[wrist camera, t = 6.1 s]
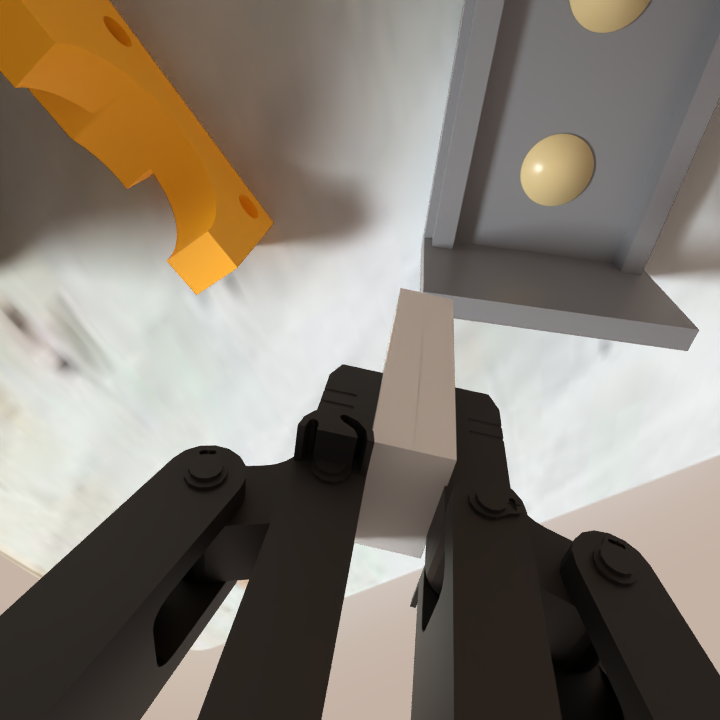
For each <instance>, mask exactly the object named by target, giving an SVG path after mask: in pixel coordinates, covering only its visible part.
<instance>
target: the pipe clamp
mask: <svg viewBox="0 0 720 720" xmlns="http://www.w3.org/2000/svg"><path fill="white" fill-rule="evenodd" d="M0 71H1V72H2V74H3V75H4V76H5V77H6V78H7V79H8V80H9V82H10V83H11V84H12V85H13V86H14V87H15V88H22V87H24V88H28V89H29V91H30V92H31V93H32V94H33V95H34V96H35V98H36V99H37V100H38V101H39V102H40V103H41V104H42V106H43V107H44V108H45V109H46V110H47V111H48V113H49V114H50V115H51V116H52V117H53V118H54V119H55V121H56V122H57V123H58V124H59V125H60V126H61V128H62V129H63V130H64V131H65V132H66V133H67V134H68V136H69V137H70V138H71V139H73V140H74V141H76V142H77V143H79V144H80V145H81V146H83V147H84V148H86V149H87V150H88V151H89V152H91V153H92V154H93V155H94V156H96V157H97V158H98V159H99V160H100V161H101V162H102V163H103V164H105V165H106V166H107V167H108V168H109V169H110V170H111V171H112V172H113V174H114V175H115V176H116V177H117V178H118V179H119V180H120V181H121V183H122V184H123V185H124V186H125V187H126V189H128V188H130V187H132V186H134V185H135V184H137V183H139V182H141V181H143V180H145V179H147V178H149V177H150V176H151V175H152V174H154V175H155V177H156V178H157V180H158V181H159V183H160V185H161V186H162V188H163V190H164V192H165V194H166V196H167V198H168V200H169V202H170V205H171V207H172V210H173V213H174V217H175V221H176V226H177V242H176V247H175V249H174V252H173V254H172V255H171V257H170V258H169V259H168V260H167V262H168V263H169V264H170V265H171V267H172V268H173V269H174V270H175V271H176V272H177V273H178V275H179V276H180V277H181V278H182V279H183V280H184V281H185V283H186V284H187V285H188V286H189V287H190V288H191V289H192V291H193V292H194V293H195V294H196V295H197V294H199V293H200V292H202V291H203V290H205V289H206V288H208V287H209V286H211V285H212V284H214V283H215V282H217V281H218V280H220V279H221V278H223V277H224V276H226V275H227V274H229V273H230V272H232V271H233V270H235V269H236V268H238V266H239V265H240V264H241V263H242V262H243V260H244V259H245V258H246V257H247V255H248V254H249V253H250V252H251V251H252V249H253V248H254V247H255V246H256V244H257V243H258V242H259V241H260V240H261V238H262V237H263V236H264V235H265V233H266V232H267V231H268V230H269V228H270V227H271V226H272V225H273V224H274V222H273V221H272V220H271V218H270V217H269V216H268V214H267V213H266V212H265V210H264V209H263V207H262V206H261V205H260V203H259V202H258V201H257V199H256V198H255V197H254V195H253V194H252V193H251V191H250V190H249V189H248V187H247V186H246V185H245V183H244V182H243V180H242V179H241V178H240V176H239V175H238V174H237V172H236V171H235V170H234V168H233V167H232V166H231V164H230V163H229V162H228V160H227V159H226V158H225V156H224V155H223V153H222V152H221V151H220V149H219V148H218V147H217V145H216V144H215V143H214V141H213V140H212V139H211V137H210V136H209V135H208V133H207V132H206V130H205V129H204V128H203V126H202V125H201V124H200V122H199V121H198V120H197V118H196V117H195V116H194V114H193V113H192V112H191V110H190V109H189V108H188V106H187V105H186V103H185V102H184V101H183V99H182V98H181V97H180V95H179V94H178V93H177V91H176V90H175V89H174V87H173V86H172V85H171V83H170V82H169V81H168V79H167V78H166V76H165V75H164V74H163V72H162V71H161V70H160V68H159V67H158V66H157V64H156V63H155V62H154V60H153V59H152V58H151V56H150V55H149V53H148V52H147V51H146V49H145V48H144V47H143V45H142V44H141V43H140V41H139V40H138V39H137V37H136V36H135V35H134V33H133V32H132V31H131V29H130V28H129V26H128V25H127V24H126V22H125V21H124V20H123V18H122V17H121V16H120V14H119V13H118V12H117V10H116V9H115V8H114V6H113V5H112V4H111V2H110V1H109V0H0Z"/></svg>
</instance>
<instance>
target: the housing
mask: <svg viewBox="0 0 720 720" xmlns="http://www.w3.org/2000/svg"><path fill="white" fill-rule="evenodd" d="M719 98H720V0H464V5H463V11H462V17H461V23H460V29H459V34H458V40H457V46H456V52H455V57H454V63H453V69H452V75H451V80H450V86H449V92H448V98H447V103H446V109H445V115H444V121H443V127H442V132H441V138H440V144H439V150H438V155H437V161H436V167H435V173H434V178H433V184H432V190H431V196H430V201H429V207H428V213H427V219H426V224H425V230H424V236H423V242H422V248H421V273H420V292H421V293H426V294H431V295H435V296H440V297H445V298H449V299H453V318H456V319H463V320H470V321H477V322H484V323H491V324H498V325H505V326H513V327H520V328H527V329H534V330H541V331H548V332H555V333H562V334H570V335H577V336H584V337H591V338H598V339H605V340H612V341H619V342H627V343H634V344H641V345H648V346H655V347H662V348H669V349H676V350H684V351H688V349H689V348H690V346H691V344H692V342H693V340H694V338H695V337H696V335H697V333H698V331H699V329H698V328H697V327H696V326H695V325H694V324H693V323H692V322H691V321H690V319H689V318H688V317H687V316H686V315H685V314H684V313H683V312H682V311H681V310H680V309H679V308H678V307H677V305H676V304H675V303H674V302H673V301H672V300H671V299H670V298H669V297H668V296H667V295H666V294H665V293H664V291H663V290H662V289H661V288H660V287H659V286H658V285H657V284H656V283H655V282H654V281H653V280H652V278H651V277H650V276H649V275H648V274H647V273H646V272H645V271H644V268H645V266H646V263H647V261H648V259H649V256H650V254H651V252H652V250H653V247H654V245H655V243H656V241H657V238H658V236H659V234H660V232H661V229H662V227H663V225H664V222H665V220H666V218H667V216H668V213H669V211H670V209H671V207H672V204H673V202H674V200H675V198H676V195H677V193H678V191H679V188H680V186H681V184H682V182H683V179H684V177H685V175H686V173H687V170H688V168H689V166H690V164H691V161H692V159H693V157H694V155H695V152H696V150H697V148H698V145H699V143H700V141H701V139H702V136H703V134H704V132H705V130H706V127H707V125H708V123H709V121H710V118H711V116H712V114H713V111H714V109H715V107H716V105H717V102H718V100H719Z"/></svg>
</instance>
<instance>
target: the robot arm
mask: <svg viewBox="0 0 720 720" xmlns="http://www.w3.org/2000/svg"><path fill="white" fill-rule="evenodd" d="M354 543H357V544H361V545H366V546H370V547H374V548H378V549H383V550H387V551H391V552H396V553H400V554H404V555H408V556H413V557H417V558H421V556H422V553H423V551H424V548H425V545H426V556H425V566H424V568H423V571H422V574H421V576H420V579H419V582H418V584H417V587H416V590H415V592H414V595H413V598H412V602H411V605H410V606H411V607H414V608H415V607H416V605H417V622H416V639H415V658H414V675H413V692H412V710H411V720H720V675H719V673H718V672H717V670H716V669H715V668H714V666H713V664H712V662H711V661H710V659H709V658H708V656H707V654H706V653H705V651H704V650H703V648H702V647H701V645H700V644H699V642H698V640H697V639H696V637H695V635H694V634H693V632H692V631H691V629H690V628H689V626H688V624H687V623H686V621H685V620H684V618H683V617H682V615H681V613H680V612H679V610H678V609H677V607H676V605H675V604H674V602H673V601H672V599H671V598H670V596H669V594H668V593H667V591H666V590H665V588H664V587H663V585H662V583H661V582H660V580H659V579H658V577H657V575H656V574H655V572H654V571H653V569H652V567H651V566H650V565H649V564H648V562H647V561H646V560H645V559H644V558H643V556H642V555H641V554H640V553H639V552H638V551H637V550H636V549H635V548H633V547H632V546H631V545H629V544H628V543H627V542H626V541H624V540H622V539H620V538H617V537H616V536H613V535H611V534H609V533H604V532H599V531H588V532H582V533H581V534H580V535H579V536H578V537H577V538H575V539H574V541H571V540H569V539H567V538H565V537H563V536H561V535H559V534H557V533H555V532H553V531H551V530H549V529H547V528H545V527H543V526H542V525H540V524H538V523H537V522H535V521H534V520H533V519H531V518H530V517H529V516H528V515H527V512H526V509H525V507H524V504H523V502H522V500H521V499H520V498H519V497H518V495H517V494H516V493H515V492H514V491H513V490H512V489H511V488H510V482H509V475H508V468H507V461H506V454H505V447H504V441H503V433H502V428H501V419H500V412H499V409H498V408H497V406H496V405H495V403H494V402H493V400H492V399H491V398H490V396H489V395H487V394H483V393H478V392H473V391H469V390H464V389H460V388H455V367H454V323H453V299H449V298H445V297H440V296H435V295H431V294H426V293H421V292H416V291H412V290H407V289H402V288H401V289H400V294H399V298H398V303H397V307H396V312H395V316H394V320H393V325H392V329H391V334H390V338H389V343H388V347H387V352H386V356H385V360H384V365H383V370H382V373H380V372H375V371H371V370H366V369H362V368H357V367H353V366H348V365H341V366H340V367H339V368H337V369H336V370H335V371H334V372H332V373H331V374H330V376H329V379H328V381H327V384H326V387H325V391H324V392H323V395H322V398H321V402H320V403H319V406H318V409H317V410H315V411H313V412H311V413H310V414H308V415H306V416H304V417H303V419H302V420H301V421H300V423H299V424H298V428H297V437H296V445H295V453H294V457H292V458H291V459H289V460H287V461H285V462H281V463H278V464H274V465H265V466H245V464H244V462H243V461H242V459H241V457H240V456H239V455H237V454H236V453H234V452H233V451H231V450H230V449H227V448H223V447H219V446H198V447H195V448H191V449H188V450H185V451H183V452H182V453H180V454H179V455H177V456H176V457H174V458H173V459H172V460H171V461H169V462H168V463H167V464H166V465H165V466H164V467H163V468H162V469H161V470H160V471H158V472H157V473H156V474H155V475H154V476H153V477H152V478H151V479H150V480H149V481H148V482H146V483H145V484H144V485H143V486H142V487H141V488H140V489H139V490H138V491H137V492H135V493H134V494H133V495H132V496H131V497H130V498H129V499H128V500H127V501H126V502H124V503H123V504H122V505H121V506H120V507H119V508H118V509H117V510H116V511H115V512H114V513H112V514H111V515H110V516H109V517H108V518H107V519H106V520H105V521H104V522H103V523H101V524H100V525H99V526H98V527H97V528H96V529H95V530H94V531H93V532H92V533H90V534H89V535H88V536H87V537H86V538H85V539H84V540H83V541H82V542H81V543H80V544H78V545H77V546H76V547H75V548H74V549H73V550H72V551H71V552H70V553H69V554H67V555H66V556H65V557H64V558H63V559H62V560H61V561H60V562H59V563H58V564H56V565H55V566H54V567H53V568H52V569H51V570H50V571H49V572H48V573H47V574H45V575H44V576H43V577H42V578H41V579H40V580H39V581H38V582H37V583H36V584H35V585H33V586H32V587H31V588H30V589H29V590H28V591H27V592H26V593H25V594H24V595H23V596H21V597H20V598H19V599H18V600H17V601H16V602H15V603H14V604H13V605H12V606H10V607H9V609H7V610H6V611H5V612H4V613H3V614H2V615H1V616H0V720H140V719H141V718H142V716H143V715H144V713H145V712H146V711H147V709H148V708H149V706H150V705H151V704H152V702H153V701H154V699H155V698H156V696H157V695H158V694H159V692H160V691H161V689H162V688H163V686H164V685H165V684H166V682H167V681H168V679H169V678H170V676H171V675H172V674H173V672H174V671H175V669H176V668H177V666H178V665H179V664H180V662H181V661H182V659H183V658H184V657H185V655H186V654H187V652H188V651H189V649H190V648H191V647H192V645H193V644H194V642H195V641H196V639H197V638H198V637H199V635H200V634H201V632H202V631H203V629H204V628H205V627H206V625H207V624H208V622H209V621H210V619H211V618H212V617H213V615H214V614H215V612H216V611H217V609H218V608H219V607H220V605H221V604H222V602H223V601H224V599H225V598H226V597H227V595H228V594H229V592H230V591H231V589H232V588H233V587H234V585H235V584H236V582H237V580H246V579H249V582H248V584H247V587H246V590H245V593H244V595H243V598H242V601H241V603H240V606H239V609H238V611H237V614H236V617H235V620H234V622H233V625H232V628H231V630H230V633H229V636H228V638H227V641H226V644H225V646H224V649H223V652H222V655H221V658H220V660H219V663H218V665H217V668H216V671H215V673H214V676H213V679H212V682H211V684H210V687H209V690H208V692H207V695H206V698H205V700H204V703H203V706H202V709H201V711H200V714H199V717H198V719H197V720H321V717H322V712H323V707H324V702H325V697H326V691H327V686H328V681H329V675H330V670H331V664H332V659H333V653H334V648H335V643H336V638H337V632H338V627H339V621H340V616H341V610H342V605H343V600H344V594H345V589H346V584H347V578H348V573H349V568H350V562H351V557H352V551H353V546H354ZM417 603H418V604H417Z"/></svg>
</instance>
